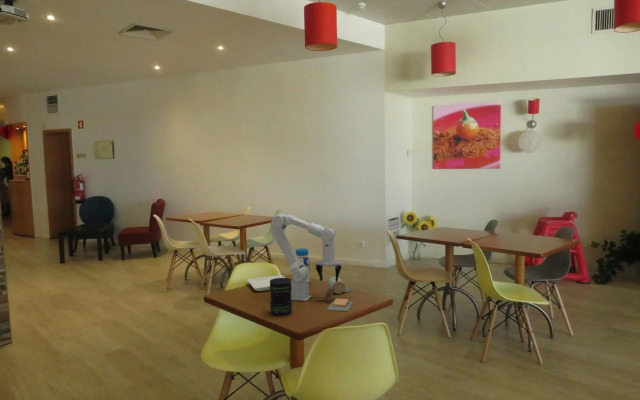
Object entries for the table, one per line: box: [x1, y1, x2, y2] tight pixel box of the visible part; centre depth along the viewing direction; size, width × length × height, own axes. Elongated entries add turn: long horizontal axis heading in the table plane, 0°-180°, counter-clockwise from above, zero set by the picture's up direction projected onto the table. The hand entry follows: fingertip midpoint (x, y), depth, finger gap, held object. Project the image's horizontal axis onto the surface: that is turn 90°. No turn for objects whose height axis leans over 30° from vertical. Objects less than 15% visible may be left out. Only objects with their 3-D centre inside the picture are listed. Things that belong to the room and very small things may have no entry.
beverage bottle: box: [295, 247, 311, 287], centre depth 259 cm, size 8×8×20 cm
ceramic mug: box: [327, 275, 351, 295], centre depth 245 cm, size 11×8×8 cm
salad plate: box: [246, 274, 286, 292], centre depth 259 cm, size 21×21×3 cm
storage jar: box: [269, 277, 293, 317], centre depth 213 cm, size 10×10×15 cm
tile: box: [333, 298, 349, 307], centre depth 222 cm, size 6×1×6 cm
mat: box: [326, 299, 354, 312], centre depth 222 cm, size 10×14×1 cm
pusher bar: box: [324, 288, 334, 304], centre depth 231 cm, size 2×7×5 cm, turn 167°
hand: (329, 280), depth 230 cm, fingers open, 7 cm apart
